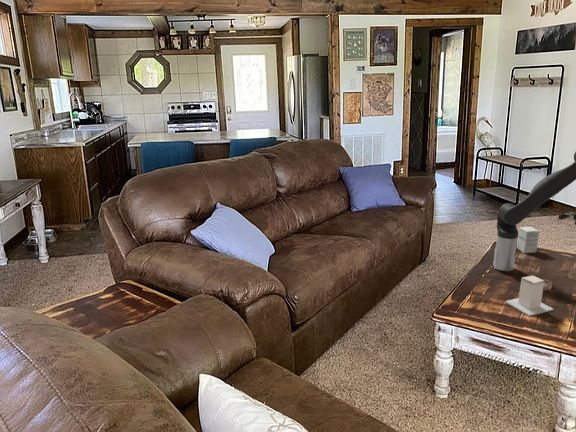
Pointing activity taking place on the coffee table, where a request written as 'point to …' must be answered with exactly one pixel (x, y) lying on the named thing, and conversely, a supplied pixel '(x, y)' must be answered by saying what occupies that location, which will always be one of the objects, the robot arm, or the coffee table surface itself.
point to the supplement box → (528, 239)
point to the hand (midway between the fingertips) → (567, 220)
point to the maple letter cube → (547, 285)
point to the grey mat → (527, 311)
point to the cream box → (531, 292)
